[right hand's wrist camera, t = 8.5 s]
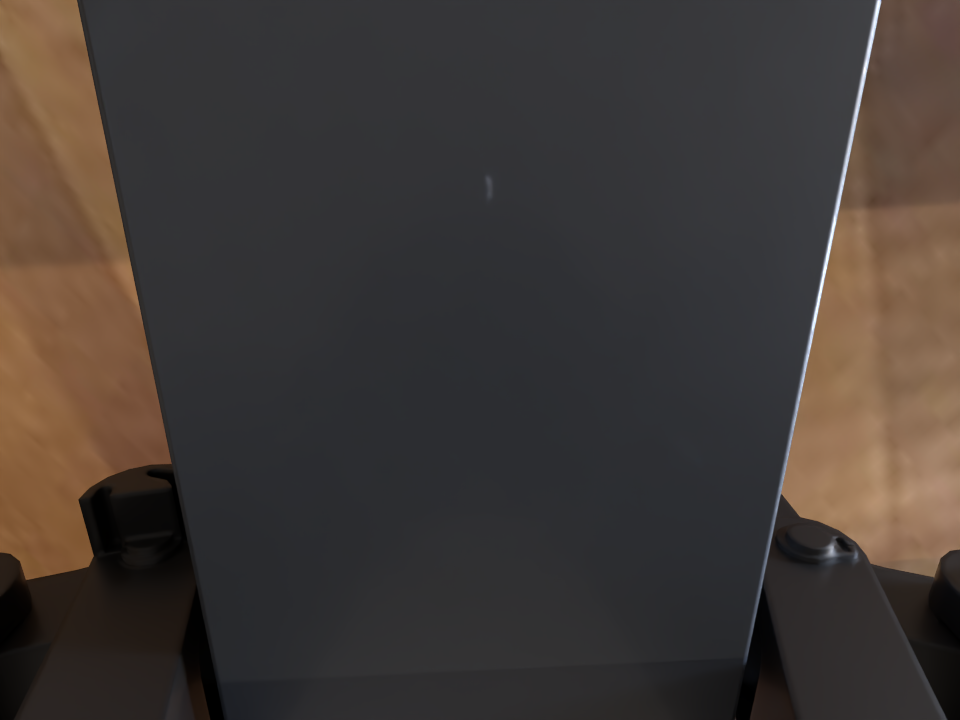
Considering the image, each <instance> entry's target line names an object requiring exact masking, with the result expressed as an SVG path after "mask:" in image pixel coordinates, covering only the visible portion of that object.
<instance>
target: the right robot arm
mask: <svg viewBox="0 0 960 720" xmlns="http://www.w3.org/2000/svg"><path fill="white" fill-rule="evenodd" d="M79 504H80V507H81V511H82V514H83V518H84V522H85V525H86V529H87V532H88V536H89V540H90V543H91V547H92V550H93V554H94V557H93V559H92V561H91V563H90V565H89V567H86V568H83V569H79V570H75V571H70V572H65V573H60V574H55V575H50V576H45V577H40V578H35V579H30V580H26V579H25V576H24V573H23V570H22V567H21V564H20V561H19V560H17V559H16V558H15V557H14V556H12V555H11V554H7V553H0V720H224V716H223V711H222V707H221V702H220V697H219V692H218V687H217V682H216V677H215V672H214V667H213V663H212V658H211V653H210V648H209V643H208V638H207V633H206V628H205V623H204V619H203V614H202V609H201V604H200V599H199V594H198V589H197V584H196V579H195V574H194V570H193V565H192V560H191V555H190V550H189V545H188V540H187V535H186V530H185V526H184V521H183V516H182V511H181V506H180V501H179V496H178V491H177V486H176V482H175V477H174V472H173V467H172V464H160V465H148V466H143V467H138V468H133V469H129V470H126V471H123V472H120V473H118V474H115V475H112V476H110V477H107V478H106V479H104V480H102V481H101V482H99V483H97V484H95V485H94V486H92V487H90V488H89V489H88V490H87V491H86V492H85V493H84V494H83V496H82V497H81V498H80V499H79ZM735 720H960V550H953V551H949V552H948V553H947V554H946V555H944V556H943V557H942V558H941V559H940V562H939V565H938V568H937V571H936V574H935V577H929V576H924V575H919V574H914V573H909V572H904V571H899V570H894V569H889V568H884V567H880V566H877V565H873V564H870V562H869V560H868V558H867V556H866V555H865V553H864V552H863V551H862V550H861V548H860V547H859V546H858V545H857V543H856V542H855V541H853V540H852V539H850V538H849V537H847V536H846V535H845V534H843V533H842V532H840V531H839V530H837V529H834V528H832V527H830V526H827V525H825V524H823V523H820V522H818V521H814V520H809V519H805V518H801V517H799V515H798V514H797V513H796V512H795V510H794V509H793V508H792V507H791V505H790V504H789V503H788V502H787V500H786V499H785V498H784V497H783V495H782V494H781V495H780V500H779V505H778V510H777V515H776V520H775V525H774V530H773V535H772V539H771V544H770V549H769V554H768V559H767V564H766V569H765V574H764V579H763V584H762V588H761V593H760V598H759V603H758V608H757V613H756V618H755V623H754V628H753V633H752V638H751V642H750V647H749V652H748V657H747V662H746V667H745V672H744V677H743V682H742V687H741V692H740V696H739V701H738V706H737V711H736V716H735Z"/></svg>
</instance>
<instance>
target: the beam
mask: <svg viewBox="0 0 960 720" xmlns="http://www.w3.org/2000/svg"><path fill="white" fill-rule="evenodd" d="M77 2H78V7H79V12H80V17H81V22H82V26H83V31H84V36H85V41H86V46H87V51H88V56H89V61H90V66H91V70H92V75H93V80H94V85H95V90H96V95H97V100H98V105H99V110H100V115H101V119H102V124H103V129H104V134H105V139H106V144H107V149H108V154H109V159H110V163H111V168H112V173H113V178H114V183H115V188H116V193H117V198H118V203H119V207H120V212H121V217H122V222H123V227H124V232H125V237H126V242H127V247H128V252H129V256H130V261H131V266H132V271H133V276H134V281H135V286H136V291H137V296H138V300H139V305H140V310H141V315H142V320H143V325H144V330H145V335H146V340H147V345H148V349H149V354H150V359H151V364H152V369H153V374H154V379H155V384H156V389H157V393H158V398H159V403H160V408H161V413H162V418H163V423H164V428H165V433H166V437H167V442H168V447H169V452H170V457H171V462H172V467H173V472H174V477H175V482H176V486H177V491H178V496H179V501H180V506H181V511H182V516H183V521H184V526H185V530H186V535H187V540H188V545H189V550H190V555H191V560H192V565H193V570H194V574H195V579H196V584H197V589H198V594H199V599H200V604H201V609H202V614H203V619H204V623H205V628H206V633H207V638H208V643H209V648H210V653H211V658H212V663H213V667H214V672H215V677H216V682H217V687H218V692H219V697H220V702H221V707H222V711H223V716H224V720H735V716H736V711H737V706H738V701H739V696H740V692H741V687H742V682H743V677H744V672H745V667H746V662H747V657H748V652H749V647H750V642H751V638H752V633H753V628H754V623H755V618H756V613H757V608H758V603H759V598H760V593H761V588H762V584H763V579H764V574H765V569H766V564H767V559H768V554H769V549H770V544H771V539H772V535H773V530H774V525H775V520H776V515H777V510H778V505H779V500H780V495H781V490H782V485H783V481H784V476H785V471H786V466H787V461H788V456H789V451H790V446H791V441H792V436H793V431H794V427H795V422H796V417H797V412H798V407H799V402H800V397H801V392H802V387H803V382H804V378H805V373H806V368H807V363H808V358H809V353H810V348H811V343H812V338H813V333H814V328H815V324H816V319H817V314H818V309H819V304H820V299H821V294H822V289H823V284H824V279H825V274H826V270H827V265H828V260H829V255H830V250H831V245H832V240H833V235H834V230H835V225H836V221H837V216H838V211H839V206H840V201H841V196H842V191H843V186H844V181H845V176H846V171H847V167H848V162H849V157H850V152H851V147H852V142H853V137H854V132H855V127H856V122H857V117H858V113H859V108H860V103H861V98H862V93H863V88H864V83H865V78H866V73H867V68H868V64H869V59H870V54H871V49H872V44H873V39H874V34H875V29H876V24H877V19H878V14H879V10H880V5H881V0H77Z"/></svg>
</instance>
